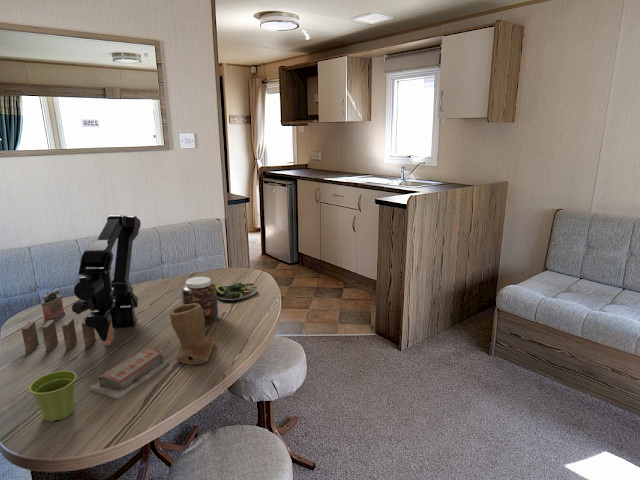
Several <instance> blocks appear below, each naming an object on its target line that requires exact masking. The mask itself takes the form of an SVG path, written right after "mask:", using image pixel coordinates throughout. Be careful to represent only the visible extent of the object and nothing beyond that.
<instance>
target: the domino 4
mask: <svg viewBox="0 0 640 480" xmlns="http://www.w3.org/2000/svg"><path fill="white" fill-rule="evenodd" d="M81 327H82V328H81V329H82V334H83V340H84V347H85V348H91V347H92V346H93V344H94V343H95V341H96V340H97V339H96V333H95V332H96V330H95V328H93V327H88V326H85V319H84V320H83V322H82V323H81Z"/></svg>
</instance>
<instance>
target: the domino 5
mask: <svg viewBox="0 0 640 480" xmlns="http://www.w3.org/2000/svg"><path fill="white" fill-rule="evenodd" d="M110 320H111V319H110ZM114 339H115V337H114V328H113V327H112V320H111V323H110V327H109V331H108V335H107V339H106V341H103V342H104V343H103V344H104V346H111V344H112V342H113V340H114Z"/></svg>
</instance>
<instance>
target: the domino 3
mask: <svg viewBox="0 0 640 480" xmlns="http://www.w3.org/2000/svg"><path fill="white" fill-rule="evenodd" d="M61 328H62V334H63V339H64V345H65V346H64V347H65V350H72V349H73V348H74V346H75V345H76V343H77V342H78V338H77V332H76V326H75V320H74V318H73V317H71V318H67V319H66V320H65V322H64V323H62V325H61Z"/></svg>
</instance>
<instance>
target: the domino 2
mask: <svg viewBox="0 0 640 480" xmlns="http://www.w3.org/2000/svg"><path fill="white" fill-rule="evenodd" d="M41 331H42V336H43V341H44V347H45V352H52V351H53V350H54V349H55V348H56V347H57V345H58V344H59V339H58V333H57V328H56V321H54V320H49V321H48V322H47V323H44V325H42V326H41Z"/></svg>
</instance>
